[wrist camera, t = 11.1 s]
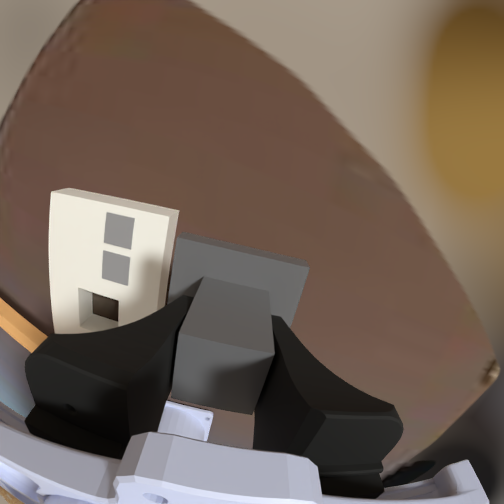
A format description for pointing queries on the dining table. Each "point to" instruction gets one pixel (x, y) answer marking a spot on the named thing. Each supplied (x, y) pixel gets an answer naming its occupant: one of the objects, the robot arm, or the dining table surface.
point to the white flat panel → (107, 258)
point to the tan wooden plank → (20, 327)
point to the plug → (229, 318)
